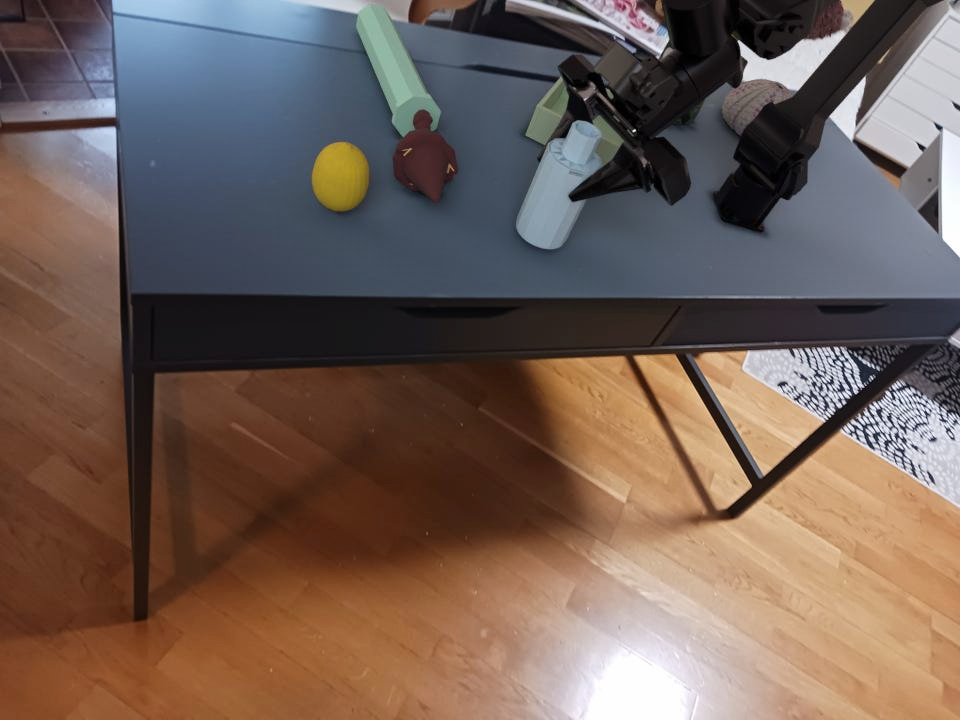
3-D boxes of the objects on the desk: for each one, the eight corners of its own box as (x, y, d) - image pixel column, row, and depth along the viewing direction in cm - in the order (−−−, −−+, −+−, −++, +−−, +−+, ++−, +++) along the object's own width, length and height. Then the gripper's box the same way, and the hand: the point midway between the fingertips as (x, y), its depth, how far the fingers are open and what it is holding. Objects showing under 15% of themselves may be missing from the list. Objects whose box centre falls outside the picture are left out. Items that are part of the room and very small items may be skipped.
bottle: (563, 222, 80) (612, 122, 71) (566, 254, 77) (617, 154, 67) (515, 208, 79) (558, 106, 70) (515, 241, 75) (560, 136, 66)
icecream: (484, 185, 72) (455, 114, 82) (420, 160, 68) (398, 89, 78) (451, 237, 76) (427, 163, 86) (389, 216, 72) (372, 141, 82)
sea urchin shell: (803, 156, 116) (834, 113, 111) (742, 152, 111) (773, 106, 105) (759, 110, 124) (786, 67, 118) (700, 104, 118) (726, 58, 112)
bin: (642, 140, 103) (656, 112, 100) (620, 183, 93) (635, 154, 90) (555, 97, 104) (567, 68, 101) (524, 135, 94) (536, 105, 91)
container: (364, -14, 94) (411, 86, 80) (399, 9, 98) (450, 109, 84) (341, 23, 97) (383, 127, 83) (377, 45, 101) (422, 147, 87)
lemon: (338, 235, 70) (351, 168, 65) (296, 206, 71) (305, 138, 65) (372, 213, 74) (387, 148, 68) (331, 186, 75) (343, 120, 69)
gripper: (610, -29, 67) (480, 77, 69) (735, 81, 59) (583, 198, 61) (632, 51, 77) (518, 142, 79) (743, 155, 68) (611, 254, 71)
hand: (553, 179), depth 72 cm, fingers closed on bottle, 6 cm apart
